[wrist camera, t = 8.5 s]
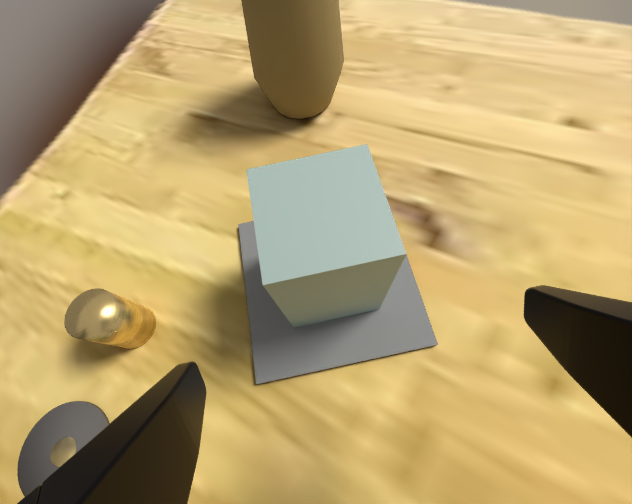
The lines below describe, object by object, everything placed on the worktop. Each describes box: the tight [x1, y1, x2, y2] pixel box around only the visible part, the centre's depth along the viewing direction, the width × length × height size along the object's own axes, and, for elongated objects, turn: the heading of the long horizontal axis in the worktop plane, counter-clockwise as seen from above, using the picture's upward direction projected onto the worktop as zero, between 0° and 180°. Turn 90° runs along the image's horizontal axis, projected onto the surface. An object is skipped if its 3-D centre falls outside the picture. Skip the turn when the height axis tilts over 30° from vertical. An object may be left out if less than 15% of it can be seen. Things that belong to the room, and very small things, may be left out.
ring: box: [18, 401, 109, 497], centre depth 20 cm, size 6×6×1 cm
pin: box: [64, 289, 156, 349], centre depth 21 cm, size 3×3×4 cm
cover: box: [247, 144, 406, 328], centre depth 18 cm, size 6×6×10 cm
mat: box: [238, 221, 438, 384], centre depth 23 cm, size 12×12×1 cm
